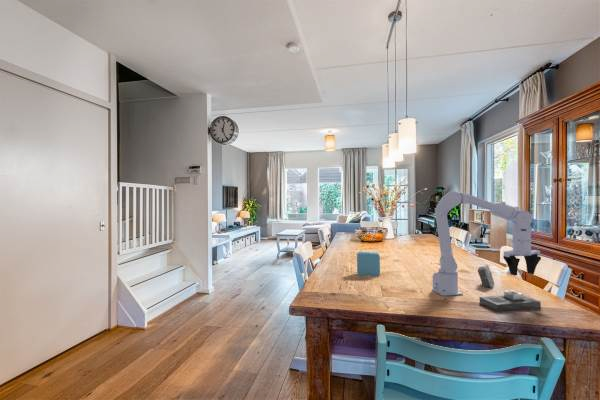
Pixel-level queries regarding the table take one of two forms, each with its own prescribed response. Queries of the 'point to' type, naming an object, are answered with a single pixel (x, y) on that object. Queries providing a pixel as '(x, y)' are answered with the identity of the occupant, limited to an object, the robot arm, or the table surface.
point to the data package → (368, 263)
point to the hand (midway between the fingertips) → (522, 274)
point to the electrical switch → (486, 276)
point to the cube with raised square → (513, 296)
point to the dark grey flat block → (509, 303)
